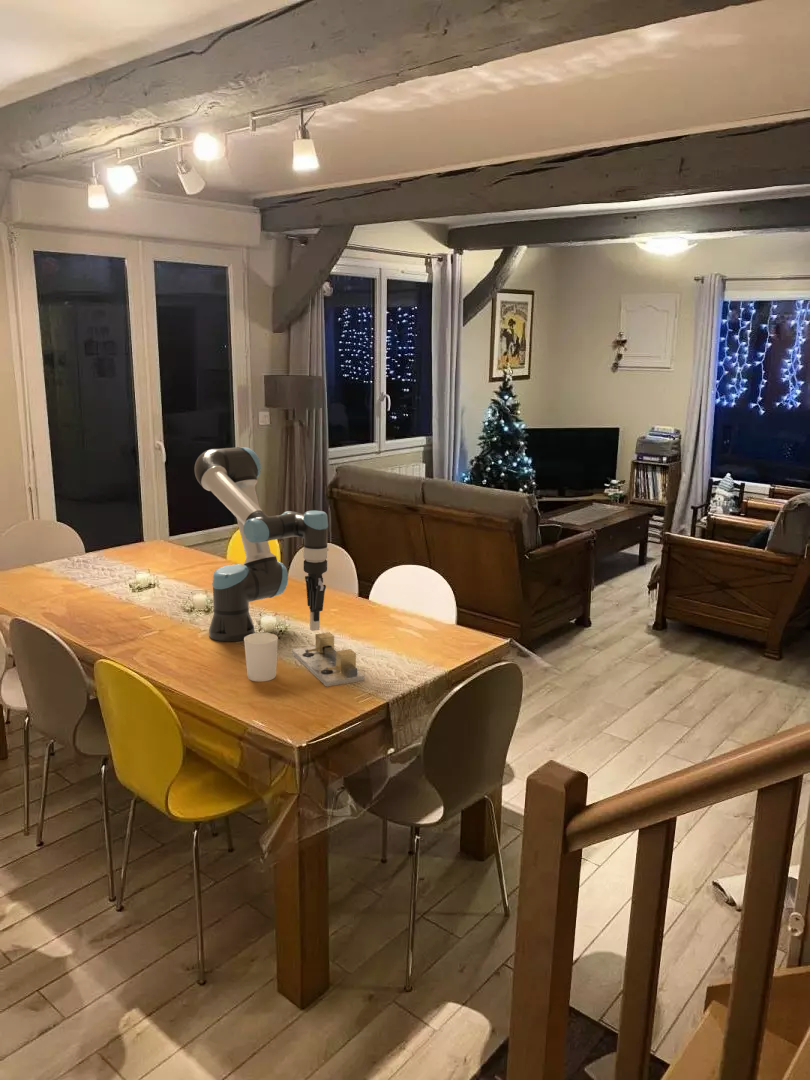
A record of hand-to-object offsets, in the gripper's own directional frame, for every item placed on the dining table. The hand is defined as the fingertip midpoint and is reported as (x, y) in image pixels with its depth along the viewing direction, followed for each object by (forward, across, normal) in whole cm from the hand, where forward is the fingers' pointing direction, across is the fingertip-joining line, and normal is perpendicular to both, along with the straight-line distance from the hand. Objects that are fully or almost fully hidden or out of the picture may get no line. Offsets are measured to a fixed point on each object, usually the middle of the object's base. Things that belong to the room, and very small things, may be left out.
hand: (314, 629), depth 268 cm
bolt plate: (+6, -18, +3) cm, 19 cm away
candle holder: (+6, -18, +23) cm, 30 cm away
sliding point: (+4, -9, +2) cm, 10 cm away
